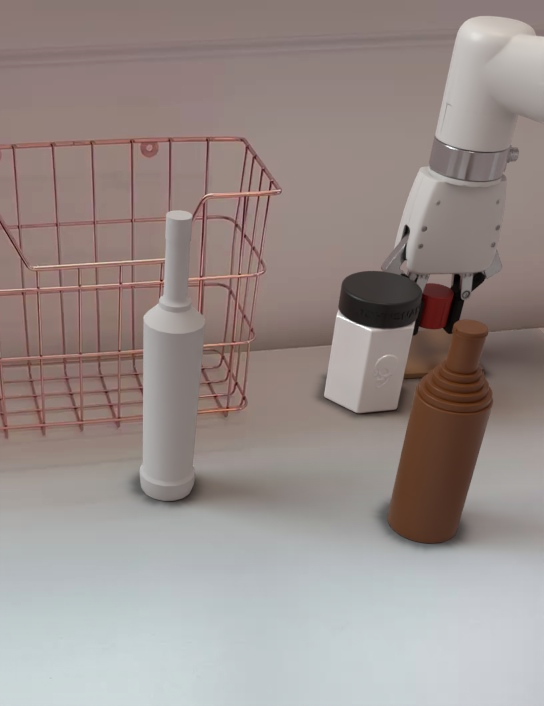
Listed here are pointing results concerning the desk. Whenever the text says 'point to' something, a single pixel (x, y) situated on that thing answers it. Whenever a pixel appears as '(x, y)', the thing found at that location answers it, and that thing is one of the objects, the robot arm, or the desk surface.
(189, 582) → the desk surface
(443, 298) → the cap
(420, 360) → the coaster
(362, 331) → the jar
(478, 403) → the bottle
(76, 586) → the desk surface
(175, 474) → the bottle
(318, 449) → the desk surface
